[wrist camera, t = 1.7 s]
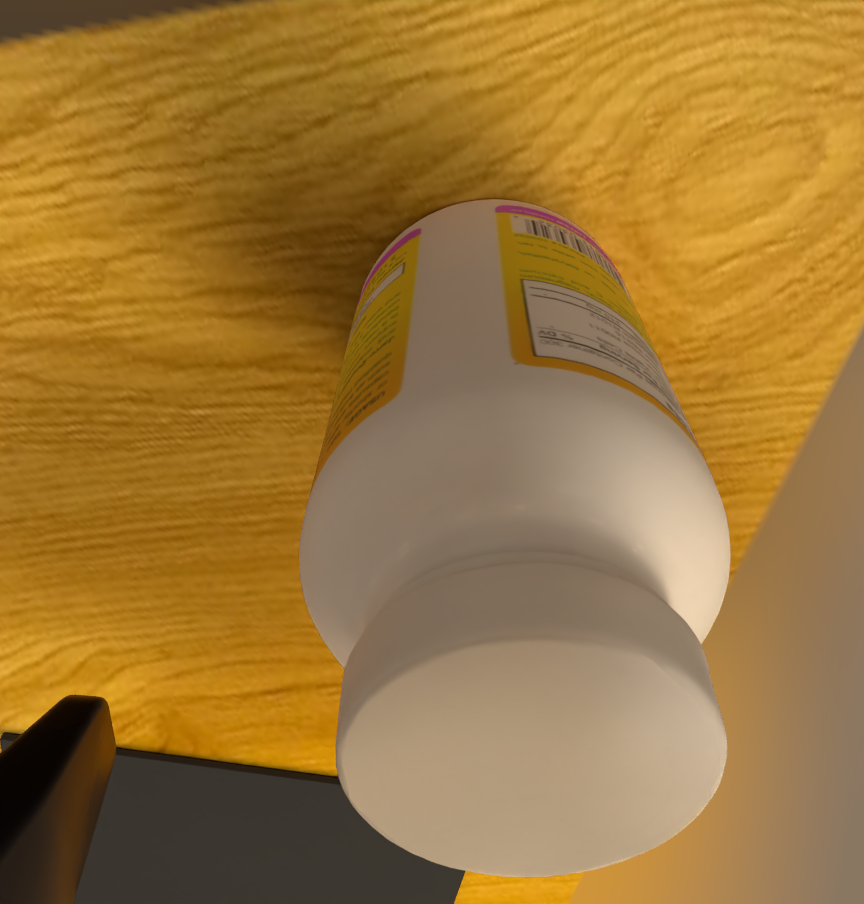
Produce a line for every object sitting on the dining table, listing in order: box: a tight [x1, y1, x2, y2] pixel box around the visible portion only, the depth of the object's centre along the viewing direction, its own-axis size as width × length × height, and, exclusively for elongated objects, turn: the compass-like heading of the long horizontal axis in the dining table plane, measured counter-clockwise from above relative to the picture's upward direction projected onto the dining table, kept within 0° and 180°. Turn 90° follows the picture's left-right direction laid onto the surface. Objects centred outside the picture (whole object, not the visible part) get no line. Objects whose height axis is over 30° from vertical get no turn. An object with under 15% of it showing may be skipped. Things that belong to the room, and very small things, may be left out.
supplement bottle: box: [299, 199, 730, 878], centre depth 15 cm, size 7×7×13 cm
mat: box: [0, 733, 465, 904], centre depth 35 cm, size 18×18×1 cm
